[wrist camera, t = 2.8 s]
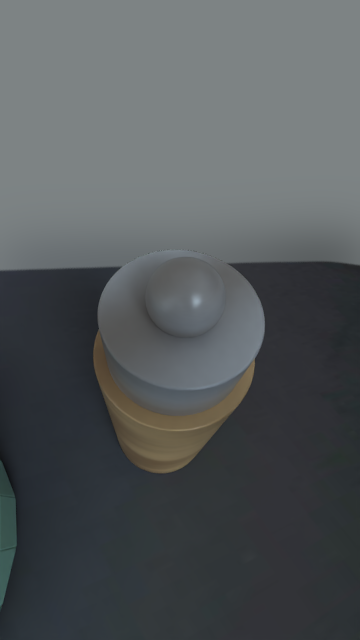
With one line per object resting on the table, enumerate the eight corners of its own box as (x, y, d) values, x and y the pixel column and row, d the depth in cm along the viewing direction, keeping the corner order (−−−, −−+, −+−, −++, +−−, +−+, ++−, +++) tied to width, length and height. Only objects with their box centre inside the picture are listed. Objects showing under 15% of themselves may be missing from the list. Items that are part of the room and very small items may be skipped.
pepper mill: (222, 437, 18) (354, 303, 7) (147, 494, 16) (154, 443, 5) (172, 368, 20) (210, 176, 9) (101, 412, 18) (28, 238, 7)
